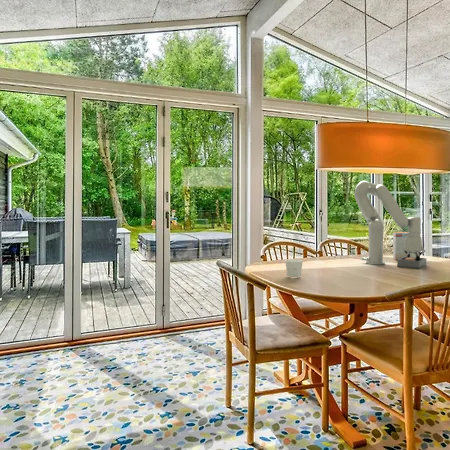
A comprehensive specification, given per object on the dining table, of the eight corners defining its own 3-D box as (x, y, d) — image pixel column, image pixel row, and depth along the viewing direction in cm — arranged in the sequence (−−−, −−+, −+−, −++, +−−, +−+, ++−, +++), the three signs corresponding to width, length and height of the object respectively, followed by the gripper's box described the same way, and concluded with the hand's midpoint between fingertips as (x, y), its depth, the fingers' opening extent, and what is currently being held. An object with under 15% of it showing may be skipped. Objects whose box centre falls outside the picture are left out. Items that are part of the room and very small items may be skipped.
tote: (419, 268, 245) (419, 261, 245) (397, 266, 254) (397, 259, 254) (426, 265, 258) (426, 258, 258) (405, 263, 267) (405, 256, 267)
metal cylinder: (409, 262, 258) (409, 252, 258) (409, 261, 262) (409, 251, 262) (417, 263, 256) (417, 252, 255) (417, 262, 260) (417, 251, 259)
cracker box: (411, 259, 288) (412, 231, 286) (414, 260, 282) (415, 232, 280) (392, 259, 289) (393, 231, 288) (395, 260, 283) (395, 232, 282)
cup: (285, 278, 217) (285, 261, 217) (285, 275, 227) (285, 259, 226) (303, 279, 216) (303, 261, 215) (301, 275, 226) (301, 259, 225)
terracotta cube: (412, 266, 250) (413, 259, 250) (404, 265, 253) (405, 258, 253) (415, 265, 254) (415, 258, 253) (407, 264, 257) (407, 257, 257)
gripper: (399, 234, 261) (398, 260, 262) (426, 235, 249) (425, 263, 250) (402, 233, 266) (402, 259, 267) (429, 235, 255) (428, 261, 256)
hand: (413, 260), depth 259 cm, fingers closed on metal cylinder, 4 cm apart
